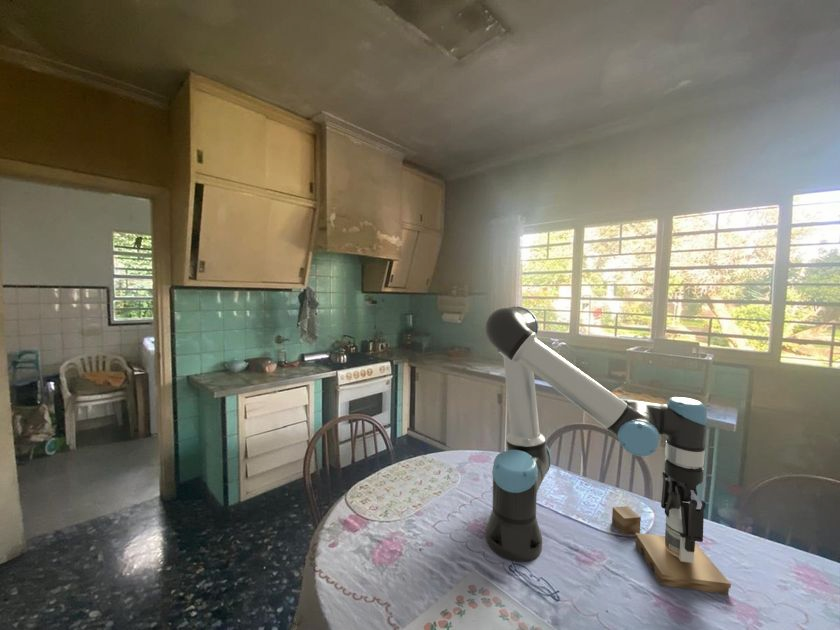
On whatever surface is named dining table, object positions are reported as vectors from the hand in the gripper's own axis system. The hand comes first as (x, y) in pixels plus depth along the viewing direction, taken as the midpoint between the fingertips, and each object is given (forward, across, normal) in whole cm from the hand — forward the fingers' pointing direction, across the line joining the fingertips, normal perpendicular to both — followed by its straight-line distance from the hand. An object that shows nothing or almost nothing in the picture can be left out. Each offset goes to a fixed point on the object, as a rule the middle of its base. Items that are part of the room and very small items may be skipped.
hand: (678, 550), depth 84 cm
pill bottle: (+1, 0, 0) cm, 1 cm away
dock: (+4, 0, 0) cm, 4 cm away
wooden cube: (+4, +13, +7) cm, 15 cm away
